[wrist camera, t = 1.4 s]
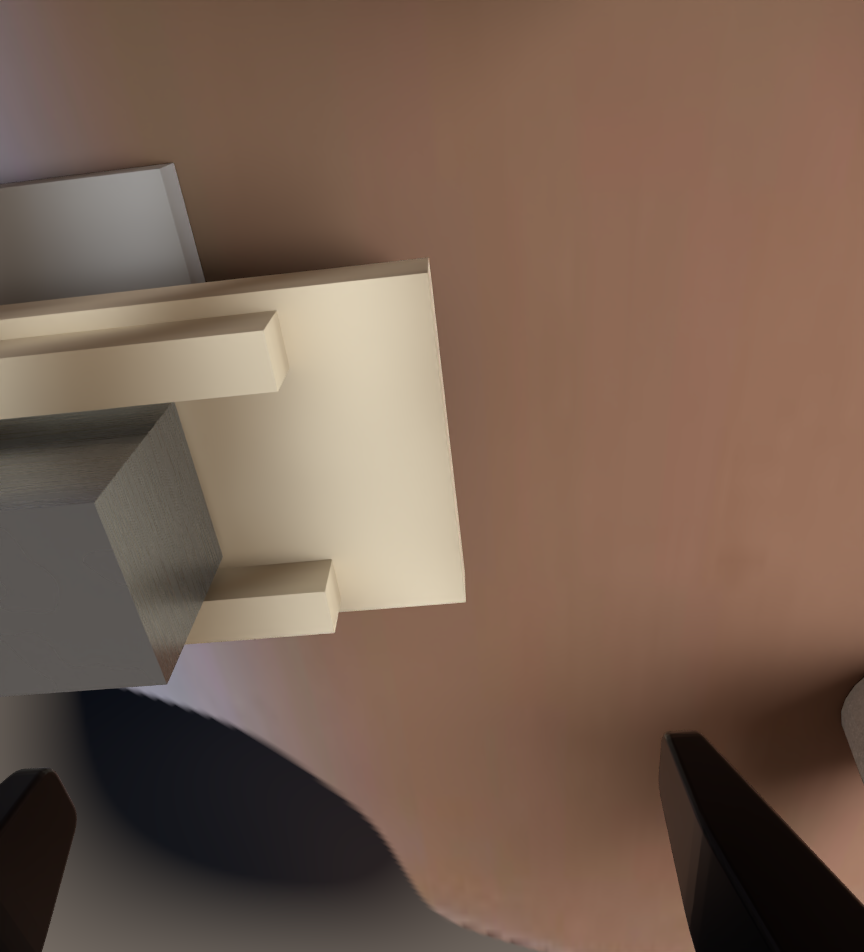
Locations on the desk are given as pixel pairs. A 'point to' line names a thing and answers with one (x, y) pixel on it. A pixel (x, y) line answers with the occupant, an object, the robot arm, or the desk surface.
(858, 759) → the house plant
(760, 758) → the desk surface
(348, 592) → the balance beam
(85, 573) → the block
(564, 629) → the desk surface
